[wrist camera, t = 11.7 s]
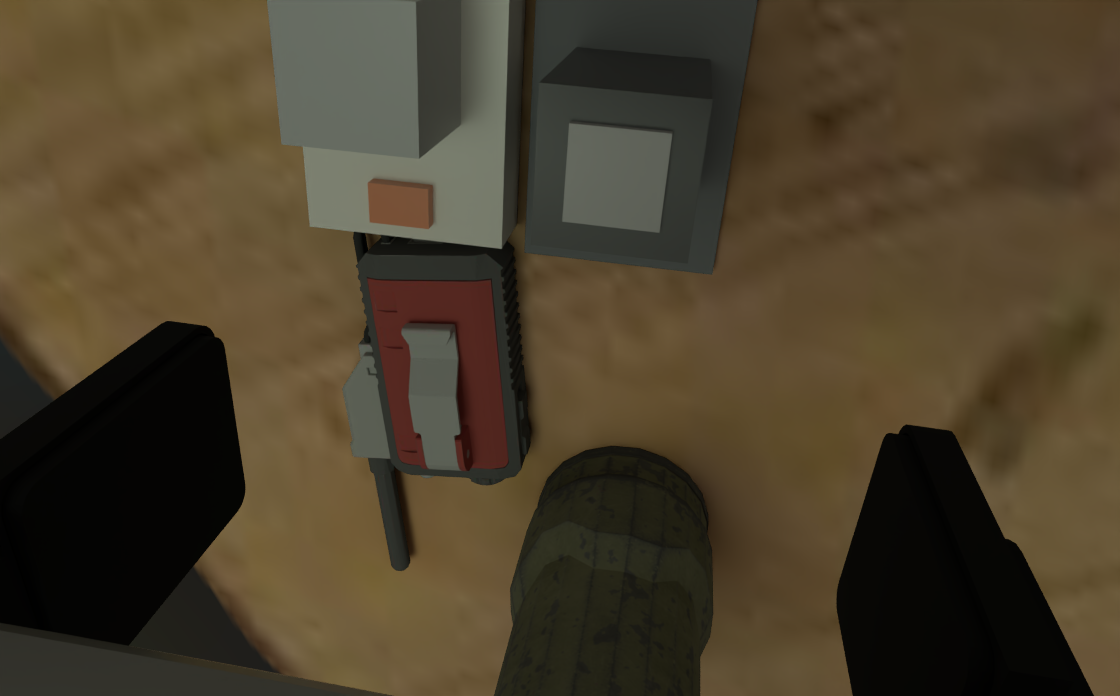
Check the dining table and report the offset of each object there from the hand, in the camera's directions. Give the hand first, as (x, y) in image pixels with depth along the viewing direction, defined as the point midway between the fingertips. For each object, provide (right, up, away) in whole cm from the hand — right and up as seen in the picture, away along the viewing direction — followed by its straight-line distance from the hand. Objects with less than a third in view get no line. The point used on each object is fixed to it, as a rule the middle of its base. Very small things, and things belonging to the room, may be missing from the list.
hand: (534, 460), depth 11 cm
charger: (+3, +10, +20) cm, 23 cm away
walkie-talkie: (-5, -1, +29) cm, 29 cm away
